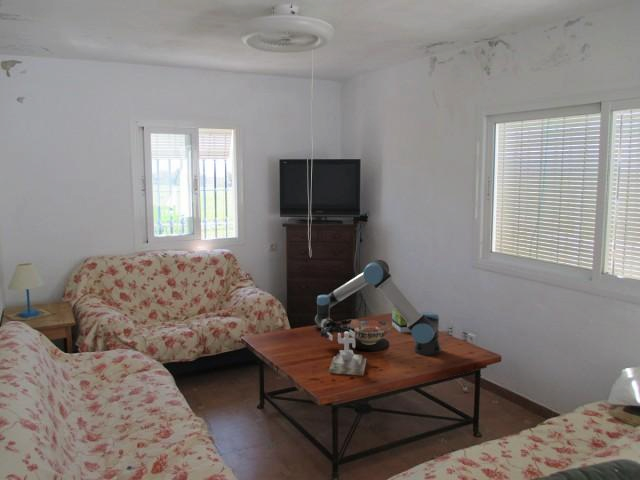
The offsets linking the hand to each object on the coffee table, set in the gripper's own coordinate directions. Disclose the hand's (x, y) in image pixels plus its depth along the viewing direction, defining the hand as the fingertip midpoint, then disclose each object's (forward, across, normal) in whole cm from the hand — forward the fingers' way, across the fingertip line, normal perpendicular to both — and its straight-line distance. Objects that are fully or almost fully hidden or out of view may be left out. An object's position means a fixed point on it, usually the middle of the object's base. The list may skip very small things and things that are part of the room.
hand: (343, 336), depth 283 cm
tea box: (-42, -61, -15) cm, 76 cm away
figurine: (+7, +1, -10) cm, 12 cm away
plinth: (+7, 0, -15) cm, 17 cm away
